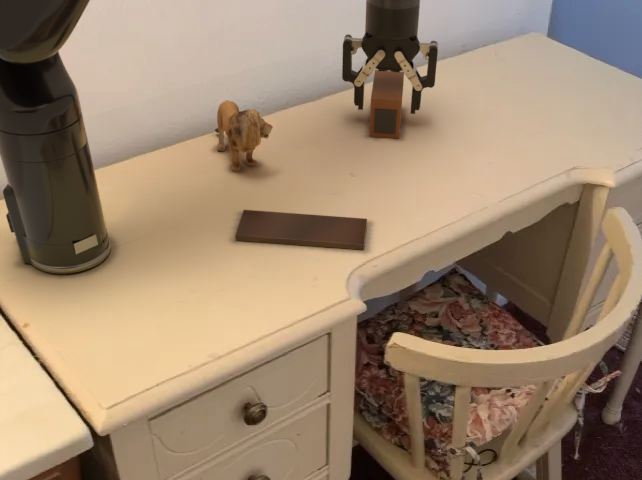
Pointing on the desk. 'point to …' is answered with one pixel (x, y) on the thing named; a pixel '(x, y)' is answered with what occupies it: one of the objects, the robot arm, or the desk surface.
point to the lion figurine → (240, 131)
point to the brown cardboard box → (386, 104)
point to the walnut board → (302, 229)
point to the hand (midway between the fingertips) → (387, 109)
